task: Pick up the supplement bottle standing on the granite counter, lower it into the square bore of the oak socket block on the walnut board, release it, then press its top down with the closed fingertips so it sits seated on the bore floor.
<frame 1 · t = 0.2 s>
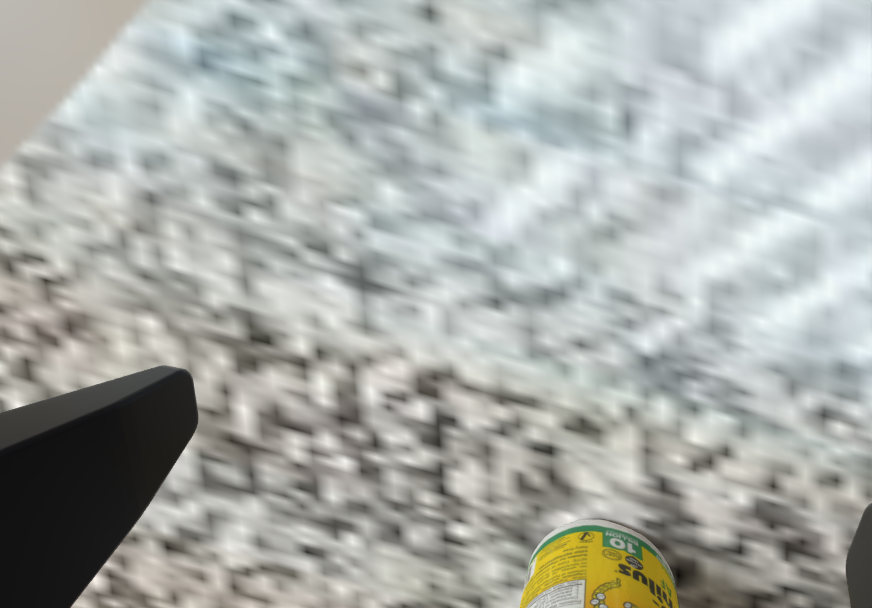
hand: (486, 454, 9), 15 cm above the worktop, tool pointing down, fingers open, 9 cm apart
supplement bottle: (600, 577, 25), on the worktop
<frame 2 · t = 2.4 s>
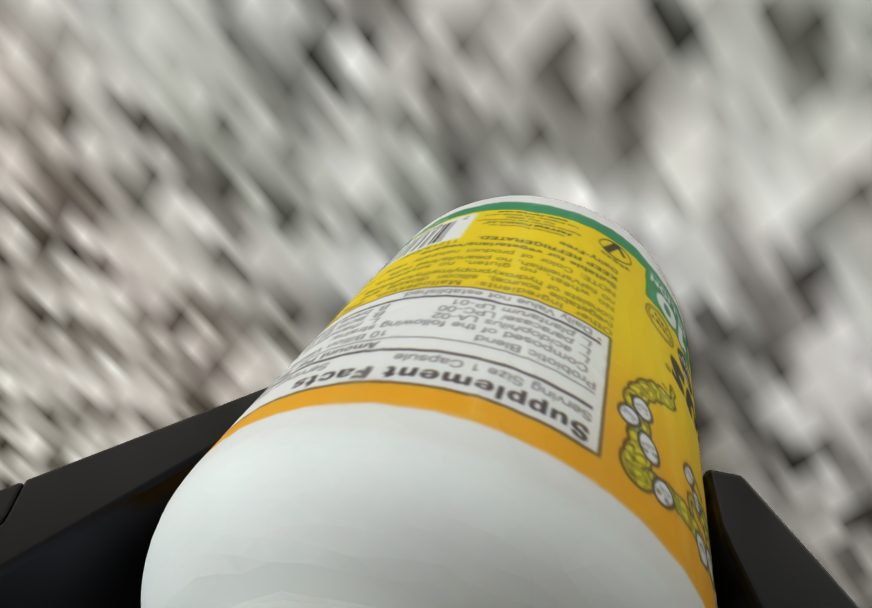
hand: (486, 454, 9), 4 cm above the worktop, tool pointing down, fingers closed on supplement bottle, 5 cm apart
supplement bottle: (529, 331, 12), on the worktop, touching gripper
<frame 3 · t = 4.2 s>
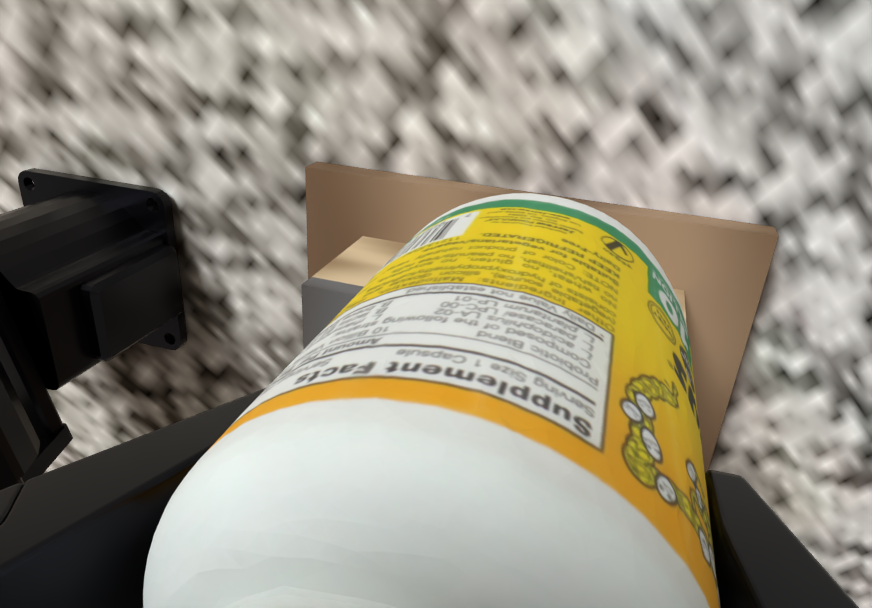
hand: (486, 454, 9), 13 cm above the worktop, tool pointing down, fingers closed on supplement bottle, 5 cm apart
supplement bottle: (531, 329, 12), point 9 cm above the worktop, touching gripper
socket: (502, 386, 23), on the worktop
when the fingers open (7 cm above the worktop, at t = 6.1 s): supplement bottle drops 2 cm, resting on socket.
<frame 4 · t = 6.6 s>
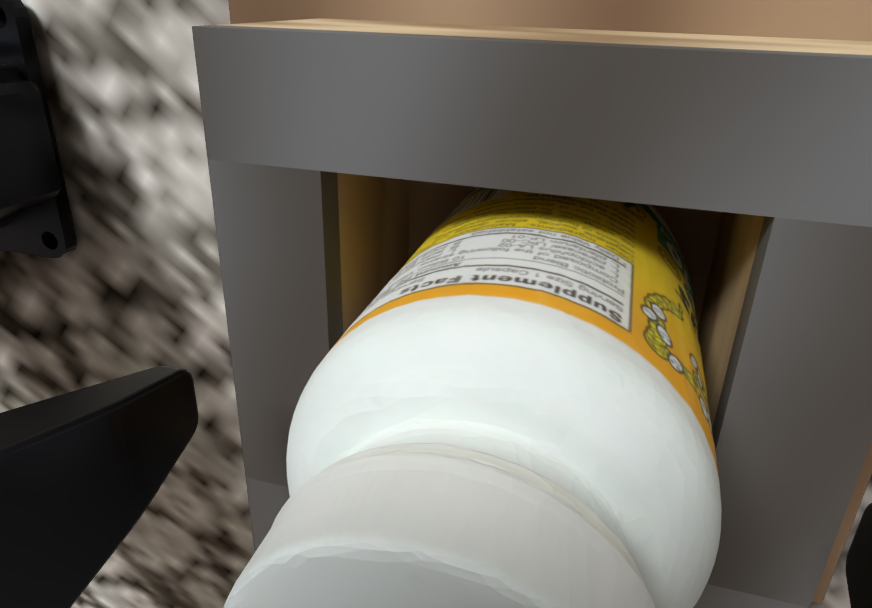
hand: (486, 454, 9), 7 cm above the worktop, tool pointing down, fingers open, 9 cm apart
supplement bottle: (556, 284, 14), point 1 cm above the worktop, touching socket
socket: (552, 271, 15), on the worktop
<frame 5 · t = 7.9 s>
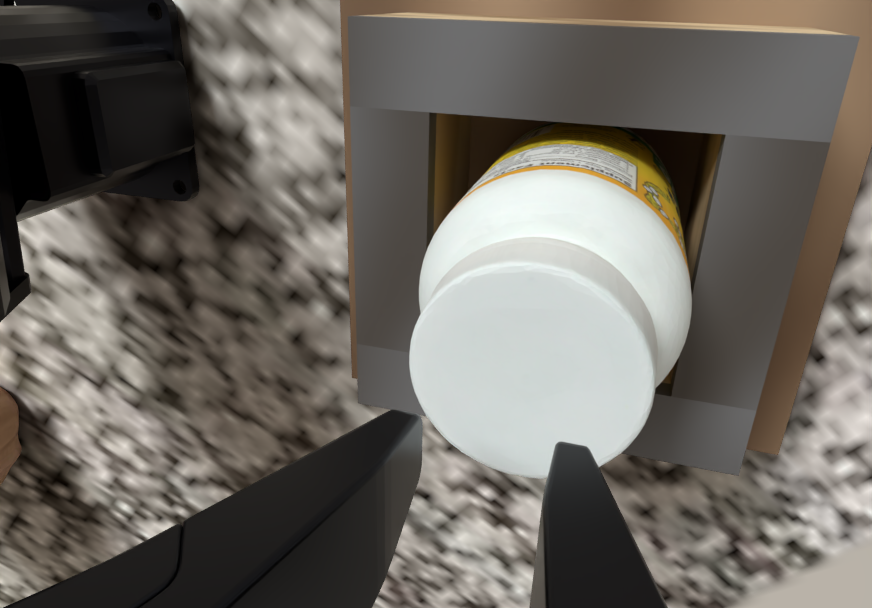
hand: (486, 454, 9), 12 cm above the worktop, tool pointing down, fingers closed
supplement bottle: (579, 209, 19), point 1 cm above the worktop, touching socket
socket: (575, 201, 20), on the worktop
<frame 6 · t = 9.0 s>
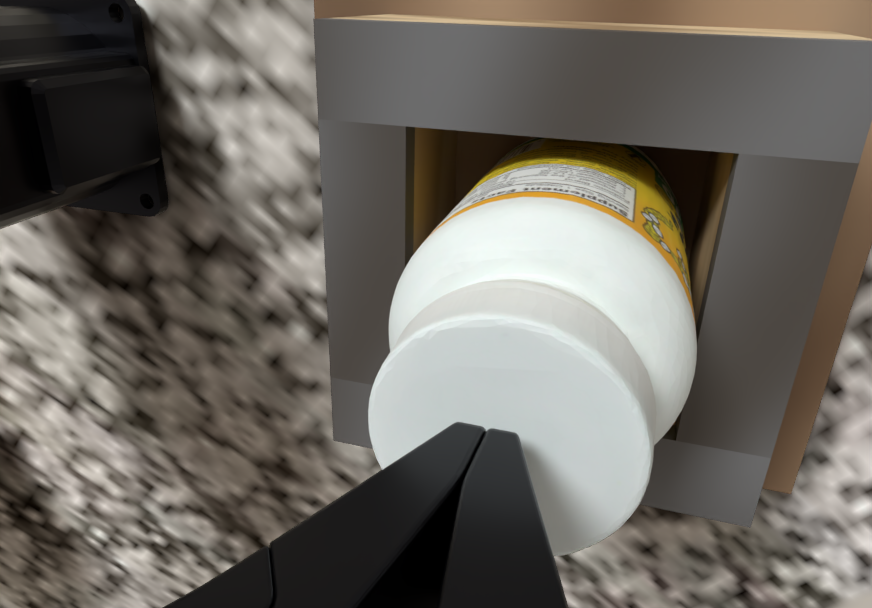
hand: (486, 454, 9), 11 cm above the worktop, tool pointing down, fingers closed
supplement bottle: (575, 229, 18), point 1 cm above the worktop, touching socket
socket: (571, 219, 18), on the worktop
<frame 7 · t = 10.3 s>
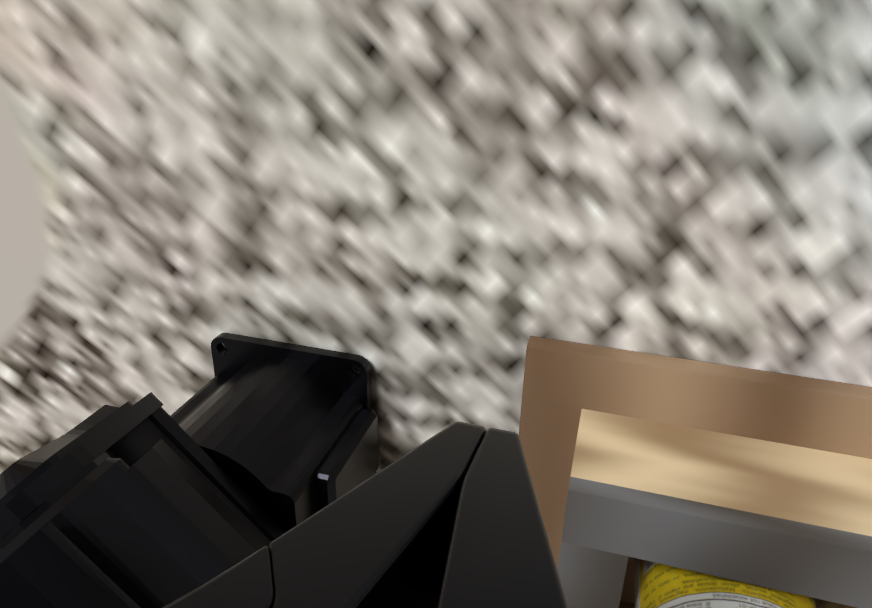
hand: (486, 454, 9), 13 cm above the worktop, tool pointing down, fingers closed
supplement bottle: (715, 553, 23), point 1 cm above the worktop, touching socket
socket: (709, 538, 24), on the worktop
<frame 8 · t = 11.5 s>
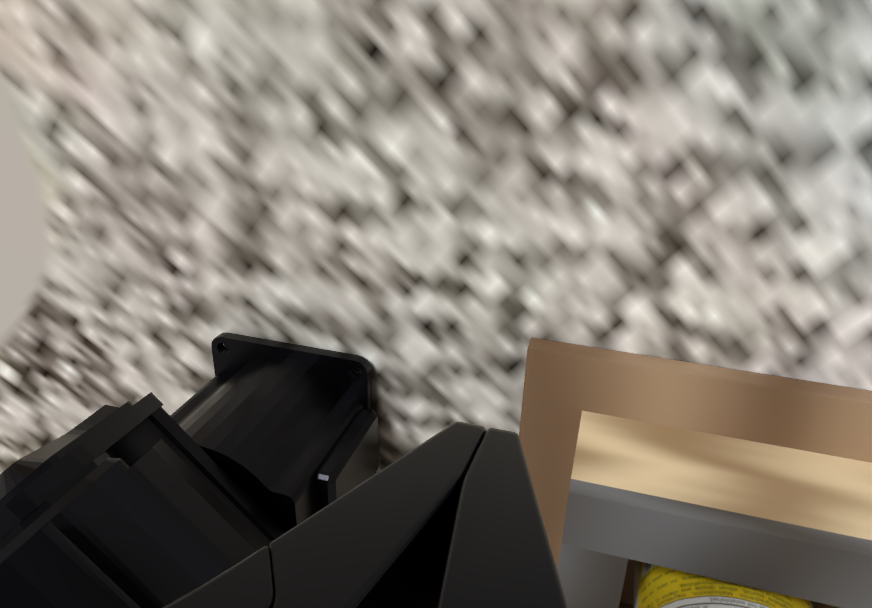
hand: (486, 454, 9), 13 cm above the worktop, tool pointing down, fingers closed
supplement bottle: (714, 555, 23), point 1 cm above the worktop, touching socket
socket: (708, 540, 24), on the worktop
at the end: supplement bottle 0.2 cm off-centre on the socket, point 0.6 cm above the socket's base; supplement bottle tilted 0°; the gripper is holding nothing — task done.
